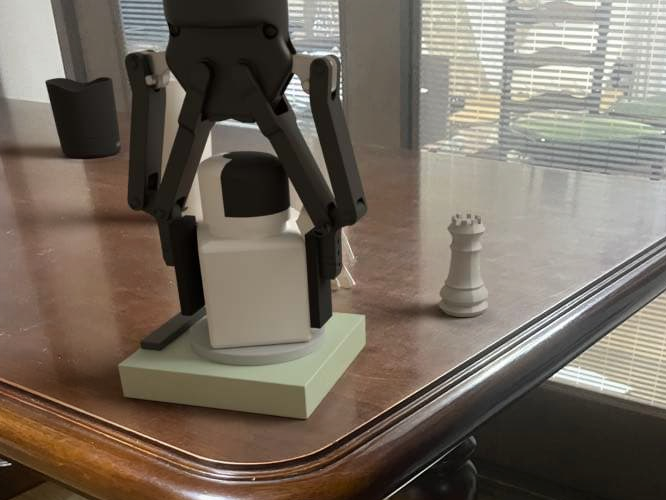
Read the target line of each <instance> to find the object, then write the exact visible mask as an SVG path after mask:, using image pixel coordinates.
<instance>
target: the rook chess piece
mask: <svg viewBox="0 0 666 500" xmlns="http://www.w3.org/2000/svg"><path fill="white" fill-rule="evenodd" d="M446 230H448V232H449V234H450V236H451V243H450V245H449V248H450V250H451V253H450V264H449V269H448V270H449V271H448V275H447V278H446V279H445V280H444V285H443V286H442V287H441V288H440V290H439V293H438V294H439V297H440V298H441V299H439V302H438V304H437V305H438V306H439V308H440V309H441V311H442V313H444V314H446V315H448V316H451V317H457V318H472V317H477V316H480V315H482V314H484V312H485V311H486V310H487V309H488V308H489V303H488V301H486V300H487V298H488V297H489V291H488V290H487V288H486V286H485V285H484V283H485V281H484V280H483V278H482V273H481V264H480V261H481V260H480V252H481V250H482V248H483V246H482V245H481V236H482V235H483V234H484V232H485V231H486V230H487V228H486V227H485V225H484V224H483V217H482V215H480V214H478V213H477V214H474V218H473V213H472V212H466V218H463V213H461V212H459V213H456V215H455V214H453V215H452V216H451V223H450V224H448V226H447V227H446Z"/></svg>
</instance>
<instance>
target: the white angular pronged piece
mask: <svg viewBox="0 0 666 500" xmlns="http://www.w3.org/2000/svg"><path fill="white" fill-rule="evenodd" d="M291 216H292V217H293V218H294V219H295V221H296V224H297V226H298V228H299V231H300V233H301V235H302V237H303V240H304V242H305V236H304V235H305V234H306V233H307V232H309V231H310V230H311V229H312V228H314V227H315V226H314V225H313V223H312V221H311V219H310V217H309V215H308V213H307V211H306V209H305V207H304V206H303V205H302V206H301V209H300V211H298V210H297V209H295V208H294V207H291ZM341 239H342V246H343V247H344V250H345V252H346V255H347V258H348V259H349V262H350V263H349V264H348V266H347V267H348V268H350V269H351V270H353V269H354V268H355V266H356V265H357V264H358V262H359V261H358V260H357V258H358V257H359V256H358V255H355V256H354V253H353V251H352V248H351V246H350V243H349V241H348V237H347V235H346V234H345V231H344V227H342V230H341ZM342 263H343V267H342V270H341V273H342V274H343V275H344V276H345V278H346V279H347V281H348V288H349V289H352V288H353V287H354V286H356V282H355V280H354V279H353V277H352V275H351V274H350V272H349V270H348V269H347V267H346V266H345V263H344V261H343V259H342ZM333 281H335V283H336V290H340V289H341V286H342V285H341V284H340V281H339V280H338V278H337V277H336V278H335V279H334V280H333Z"/></svg>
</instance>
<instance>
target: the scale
mask: <svg viewBox="0 0 666 500" xmlns="http://www.w3.org/2000/svg"><path fill="white" fill-rule="evenodd" d="M366 332H367V331H366V315H365V314H357V313H346V312H336V311H332V317H331V318H330V319H329V320H328V321H327V322H326V323H325V324H324V325H323V327H322V328H321V329H317V328H311V339H310V340H309V341H306V342H294V343H281V344H269V345H256V346H244V347H232V348H219V349H215V348H213V347H212V346H211V343H210V336H209V328H208V320H207V313H206V305H205V306H204V307H202V308H201V309H200V310H198V311H197V312H196V313H195V314H193V315H192V316H183V315H182V314H181V311H179V312H178V313H176V314H175V315H174V316H172V317H171V318H169V320H167V321H166V322H164V323H162V325H160V326H158V328H156V329H155V330H153V331H151V332H150V333H149V334H148V335H147V336H145V337H144V338H143V339H141V340H140V341H139V344H140V348H139V349H138V348H137V350H136V351H134V352H133V353H132V354H130V355H128V356H127V357H126V358H125V359H123V361H121V362H120V363H119V364H117V368H118V373H119V378H120V384H121V389H122V394H123V397H124V398H130V399H136V400H137V399H138V400H145V401H153V402H161V403H162V402H163V403H170V404H179V405H186V406H195V407H203V408H211V409H220V410H227V411H235V412H244V413H253V414H260V415H266V416H267V415H270V416H277V417H285V418H293V419H301V420H308V419H309V417H310V416H311V415H312V414H313V413H314V411H316V408H318V406H319V405H320V404H321V402H322V401H323V400H324V399H325V397H327V395H328V393H329V392H330V391H331V389H332V388H333V387H334V386H335V385H336V383H337V382H338V380H339V379H340V378H341V377H342V376H343V374H344V373H345V372H346V371H347V369H348V368H349V367H350V365H351V364H352V363H353V362H354V361H355V359H356V358H357V357H358V355H359V354H360V352H362V350H363V349H364V348H365V346H366V345H367V336H366V335H367V333H366Z"/></svg>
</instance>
